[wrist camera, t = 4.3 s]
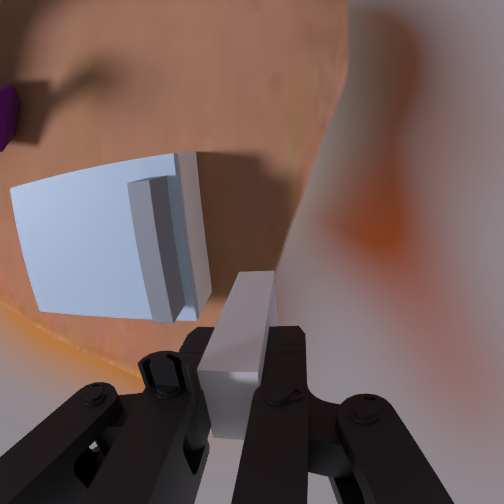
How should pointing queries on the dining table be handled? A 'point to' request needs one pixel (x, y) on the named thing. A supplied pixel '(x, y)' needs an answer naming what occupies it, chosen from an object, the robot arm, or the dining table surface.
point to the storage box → (195, 226)
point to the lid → (109, 241)
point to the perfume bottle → (8, 114)
